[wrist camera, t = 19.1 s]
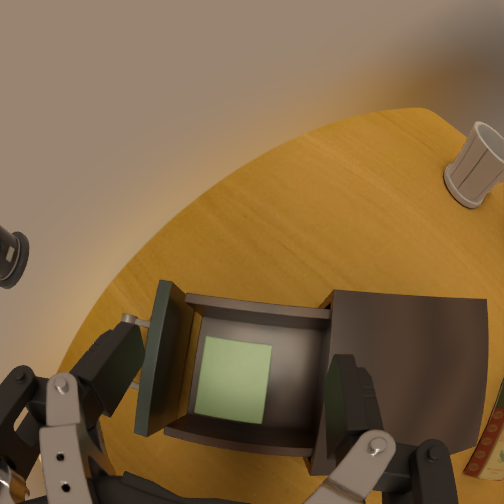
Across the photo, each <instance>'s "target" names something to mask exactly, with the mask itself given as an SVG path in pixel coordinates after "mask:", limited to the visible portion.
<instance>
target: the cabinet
mask: <svg viewBox="0 0 504 504" xmlns="http://www.w3.org/2000/svg"><path fill="white" fill-rule="evenodd" d="M318 308H320V309H330V323H329V336H328V347H327V357H326V367H325V375H324V382H325V378H326V375H327V372H328V370H329V367H330V364H331V361H332V358H333V356H334V354H353V355H354V357H355V362H356V366H357V367H364V368H365V369H366V370H367V372H368V373H369V374H370V375H371V377H372V381H373V385H374V389H375V392H376V398H377V401H378V405H379V409H380V413H381V418H382V422H383V427H384V430H385V432H387V433H389V434H390V435H391V436H392V437H393V439H394V440H395V441H396V442H398V443H402V444H408V445H415V446H419V445H420V444H421V443H422V442H424V441H426V440H428V439H437V440H440V441H442V442H443V443H444V444H445V445H446V446H447V448H448V451H449V455H451V454H454V453H457V452H460V451H463V450H466V449H469V448H472V447H474V446H476V444H477V440H478V435H479V430H480V425H481V420H482V414H483V408H484V401H485V393H486V384H487V371H488V311H487V299H471V298H448V297H429V296H412V295H397V294H383V293H370V292H357V291H345V290H333V291H332V292H331V293H330V295H329V296H328V297H327V298H326V299H325V300H324V302H323V303H322V304H321V305H320V306H319V307H318ZM323 389H324V384H323ZM303 460H304V462H305V464H306V467H307V469H308V472H309V474H310V476H318V475H330V473H331V472H332V471H333V470H334V469H335V468H336V460H327V447H326V425H325V409H324V395H323V391H322V399H321V406H320V412H319V419H318V425H317V431H316V436H315V442H314V447H313V452H312V457H303Z"/></svg>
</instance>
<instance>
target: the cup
mask: <svg viewBox="0 0 504 504" xmlns="http://www.w3.org/2000/svg"><path fill="white" fill-rule="evenodd" d="M444 179H445V183H446V185H447V188H448V190H449V191H450V193H451V194H452V195H453V197H454V198H455V199H456V200H457V201H458V202H460V203H461V204H462V205H464V206H467V207H469V208H476V207H478V206H479V205H480V204H481V203H482V201H483V200H484V196H485V195H486V194H487V193H488V192H489V191H490V190H491V189H492V188H493V187H494V186H495V185H496V184H497V183H500V182H503V181H504V139H503V138H502V136H501V135H500V134H499V133H498V132H496V131H495V130H494V129H493V128H491V127H490V126H488V125H487V124H485V123H482V122H476V123H475V124H474V126H473V128H472V130H471V132H470V134H469V136H468V138H467V140H466V142H465V144H464V146H463V147H462V149H461V151H460V153H459V154H458V156H457V157H456V159H455V160H454V162H453V163H450V164H449V165H448V166H447V168H446V169H445V171H444Z"/></svg>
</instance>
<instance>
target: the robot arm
mask: <svg viewBox="0 0 504 504" xmlns="http://www.w3.org/2000/svg"><path fill="white" fill-rule="evenodd" d="M20 256H21V242H20V240H19V238H17V237H16V236H14V235H12V234H11V233H10V232H8V231H7V230H6V229H5V228H3V227H2V226H1V225H0V280H2V281H5V280H7V279H9V278H10V277H11V276H12V274H13V273H14V271H15V270H16V268H17V265H18V263H19V260H20ZM144 359H145V349H144V345H143V340H142V336H141V331H140V327H139V326H138V325H137V324H132V323H128V322H124V321H121V322H120V323H119V324H118V325H117V326H116V327H115V328H114V330H109V331H107V332H105V333H104V334H102V335H100V337H99V338H98V339H97V340H96V341H95V342H94V344H93V345H92V346H91V347H90V348H89V351H87V352H86V353H85V354H84V355H83V356H82V358H81V359H80V360H79V361H78V362H77V364H76V365H75V366H74V367H73V369H72V370H71V371H70V372H69V373H66V372H61V373H57V374H55V375H53V376H52V377H51V378H50V379H48V378H42V377H37V376H35V374H34V372H33V371H32V369H31V368H30V367H28V366H24V365H22V366H18V367H16V368H14V369H13V370H12V371H11V372H10V373H9V375H8V376H7V377H6V378H5V380H4V381H3V382H2V383H1V385H0V504H251V503H243V502H236V501H229V500H223V499H218V498H183V497H180V496H178V495H176V494H174V493H172V492H170V491H168V490H167V489H165V488H163V487H161V486H160V485H158V484H156V483H154V482H153V481H150V480H147V479H144V478H142V477H139V476H136V475H134V474H131V473H129V472H126V471H125V472H124V474H123V476H117V475H116V473H115V470H114V468H113V466H112V464H111V462H110V460H109V458H108V455H107V451H106V447H105V443H104V439H103V435H102V430H101V425H100V421H99V417H100V415H101V414H103V415H105V416H108V417H110V418H111V416H112V415H113V413H114V411H115V409H116V408H117V406H118V404H119V403H120V401H121V399H122V398H123V396H124V394H125V393H126V391H127V389H128V388H129V386H130V384H131V383H132V381H133V379H134V378H135V376H136V374H137V373H138V371H139V369H140V368H141V366H142V365H143V362H144ZM323 395H324V409H325V425H326V447H327V460H336V468H335V469H334V470H333V471H332V472H331V473H330V475H329V476H328V477H327V478H326V479H325V480H324V481H323V482H322V484H321V485H320V486H319V487H318V488H317V489H316V490H315V491H314V492H313V493H312V494H311V495H310V496H309V497H308V498H307V499H306V500H305V501H304V502H303V503H302V504H365V499H366V497H367V496H368V495H369V493H370V492H371V490H376V491H382V504H458V497H457V490H456V484H455V478H454V473H453V468H452V463H451V459H450V455H449V451H448V448H447V446H446V445H445V444H444V443H443V442H442V441H440V440H437V439H428V440H426V441H424V442H422V443H421V444H420V445H419V446H415V445H408V444H402V443H398V442H396V441H395V440H394V439H393V437H392V436H391V435H390V434H389V433H387V432H385V430H384V427H383V422H382V418H381V413H380V409H379V405H378V401H377V398H376V392H375V389H374V385H373V381H372V377H371V375H370V374H369V373H368V372H367V370H366V369H365V368H364V367H357V366H356V362H355V357H354V355H353V354H334V356H333V358H332V361H331V364H330V367H329V370H328V372H327V375H326V378H325V382H324V389H323ZM24 407H26V408H27V410H28V411H29V412H28V413H27V415H26V416H25V418H24V419H23V421H22V422H21V424H20V426H19V427H18V429H17V430H16V431H14V427H13V426H14V422H15V421H16V419H17V418H18V416H19V415H20V413H21V412H22V410H23V408H24ZM40 453H41V462H42V470H43V477H44V483H45V489H46V495H45V496H42V497H38V498H35V499H31V500H27V501H25V498H27V497H29V495H30V492H29V490H28V488H27V487H26V483H25V482H26V479H27V478H28V476H29V474H30V472H31V470H32V468H33V466H34V464H35V462H36V460H37V458H38V456H39V455H40Z"/></svg>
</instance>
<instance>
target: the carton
mask: <svg viewBox="0 0 504 504" xmlns="http://www.w3.org/2000/svg"><path fill="white" fill-rule="evenodd" d="M463 473H464V474H466V475H468V476H471V477H475V478H481V479H490V480H497V481H502V480H503V479H504V380H503V383H502V386H501V390H500V393H499V396H498V399H497V401H496V404H495V407H494V410H493V412H492V415H491V417H490V420H489V423H488V425H487V427H486V430H485V432H484V434H483V436H482V438H481V441H480V443H479V445H478V447H477V449H476V451H475V453H474V455H473V456H472V458H471V460H470V462H469V464H468V466H467V467H466V469H465V471H464V472H463Z"/></svg>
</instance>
